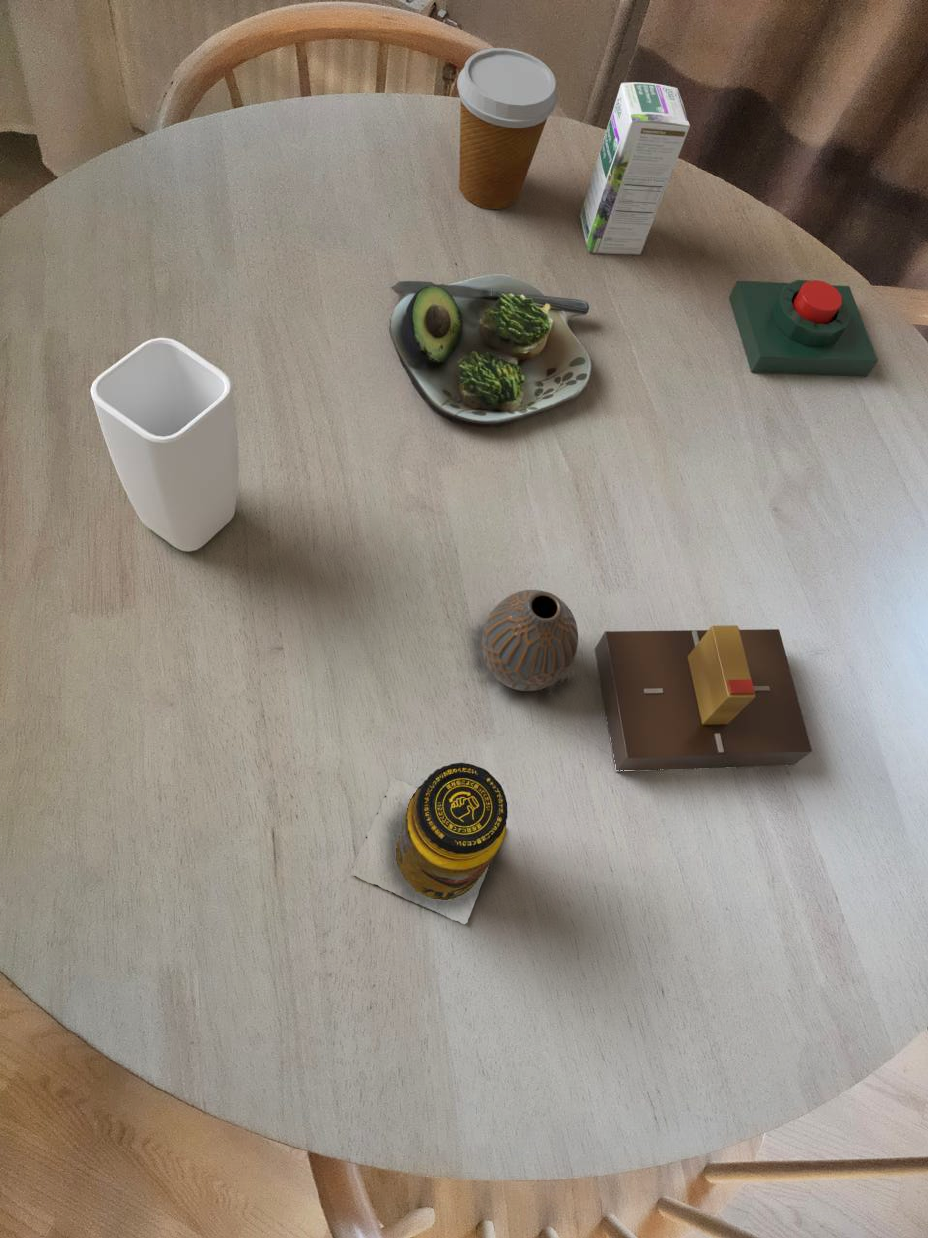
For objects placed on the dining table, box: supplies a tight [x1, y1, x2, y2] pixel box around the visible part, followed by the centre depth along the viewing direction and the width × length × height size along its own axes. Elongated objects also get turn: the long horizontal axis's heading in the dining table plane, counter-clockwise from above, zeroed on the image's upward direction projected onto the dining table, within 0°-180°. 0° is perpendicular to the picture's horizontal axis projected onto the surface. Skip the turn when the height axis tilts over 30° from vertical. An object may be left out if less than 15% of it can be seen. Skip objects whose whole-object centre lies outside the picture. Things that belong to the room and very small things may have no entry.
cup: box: [89, 337, 240, 552], centre depth 67 cm, size 7×7×15 cm
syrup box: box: [579, 81, 691, 255], centre depth 90 cm, size 6×6×14 cm
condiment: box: [396, 762, 509, 900], centre depth 59 cm, size 7×8×12 cm
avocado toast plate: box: [388, 273, 593, 428], centre depth 85 cm, size 19×18×5 cm
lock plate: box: [594, 628, 813, 771], centre depth 71 cm, size 14×10×3 cm
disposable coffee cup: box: [456, 47, 559, 210], centre depth 92 cm, size 10×10×12 cm
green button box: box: [728, 279, 879, 378], centre depth 92 cm, size 12×10×4 cm
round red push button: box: [793, 279, 842, 324], centre depth 90 cm, size 4×4×2 cm
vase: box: [481, 589, 579, 692], centre depth 68 cm, size 7×7×9 cm
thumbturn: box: [688, 624, 755, 725], centre depth 67 cm, size 6×2×5 cm, turn 5°
